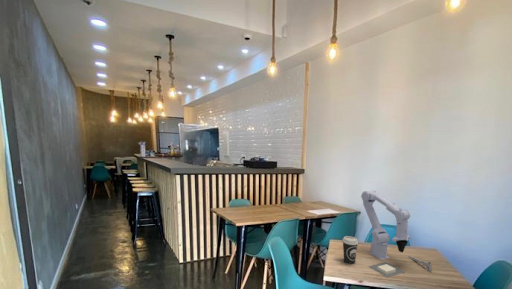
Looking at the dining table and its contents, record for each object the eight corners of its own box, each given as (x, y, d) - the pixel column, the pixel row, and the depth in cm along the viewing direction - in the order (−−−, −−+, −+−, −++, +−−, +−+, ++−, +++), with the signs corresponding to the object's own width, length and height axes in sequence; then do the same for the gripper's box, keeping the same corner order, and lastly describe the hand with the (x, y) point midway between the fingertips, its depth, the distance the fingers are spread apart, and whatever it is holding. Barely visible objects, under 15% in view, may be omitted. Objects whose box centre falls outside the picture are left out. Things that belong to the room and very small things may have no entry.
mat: (368, 267, 147) (368, 266, 147) (385, 262, 154) (385, 261, 154) (387, 278, 136) (387, 277, 136) (405, 272, 142) (405, 272, 142)
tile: (386, 267, 147) (377, 269, 144) (386, 264, 147) (377, 266, 144) (395, 272, 142) (386, 275, 138) (395, 268, 142) (386, 271, 138)
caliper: (431, 273, 143) (432, 263, 143) (429, 273, 143) (430, 263, 143) (409, 257, 163) (410, 248, 163) (408, 257, 163) (408, 247, 163)
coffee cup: (357, 260, 155) (358, 237, 155) (357, 267, 147) (358, 242, 147) (342, 257, 159) (342, 234, 159) (340, 263, 151) (341, 239, 151)
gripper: (400, 233, 142) (399, 256, 143) (415, 230, 148) (414, 252, 149) (389, 229, 149) (388, 251, 149) (404, 226, 155) (403, 247, 155)
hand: (400, 251), depth 149 cm, fingers closed
